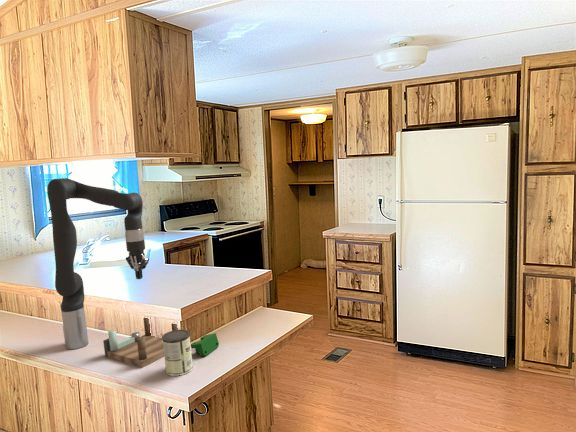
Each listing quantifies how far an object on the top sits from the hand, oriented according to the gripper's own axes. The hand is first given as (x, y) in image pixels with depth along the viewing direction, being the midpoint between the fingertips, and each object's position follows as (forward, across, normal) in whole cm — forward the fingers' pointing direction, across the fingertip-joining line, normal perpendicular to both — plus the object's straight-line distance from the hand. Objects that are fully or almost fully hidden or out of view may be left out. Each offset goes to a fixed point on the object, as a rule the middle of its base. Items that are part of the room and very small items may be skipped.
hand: (139, 278), depth 193 cm
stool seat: (+30, -6, +5) cm, 31 cm away
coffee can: (+30, -32, +11) cm, 45 cm away
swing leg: (+27, +3, +8) cm, 29 cm away
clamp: (+30, -29, -6) cm, 43 cm away
